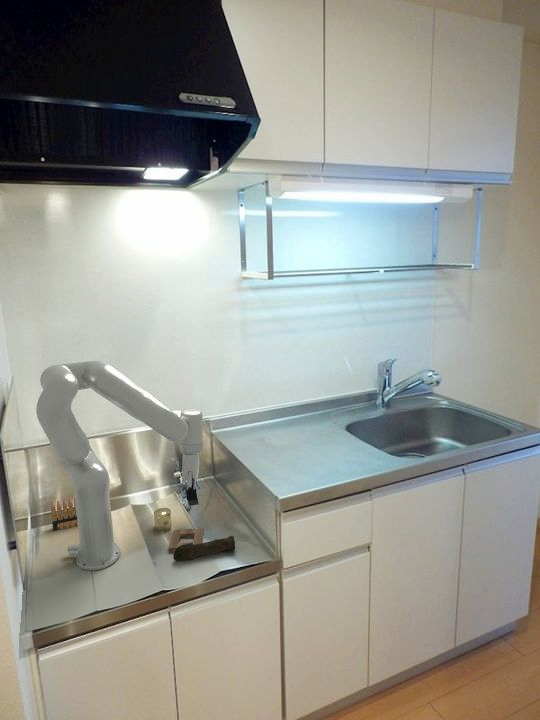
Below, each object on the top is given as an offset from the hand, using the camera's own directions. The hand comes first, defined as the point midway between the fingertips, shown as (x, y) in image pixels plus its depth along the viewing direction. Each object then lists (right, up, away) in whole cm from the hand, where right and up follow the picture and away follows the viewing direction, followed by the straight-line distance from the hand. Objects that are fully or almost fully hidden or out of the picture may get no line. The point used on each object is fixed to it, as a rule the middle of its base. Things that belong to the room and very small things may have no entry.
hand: (192, 496), depth 154 cm
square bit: (+1, -2, 0) cm, 2 cm away
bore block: (0, -13, -8) cm, 15 cm away
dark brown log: (+12, -17, -12) cm, 24 cm away
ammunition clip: (-42, -12, +1) cm, 43 cm away
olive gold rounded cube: (-10, -11, 0) cm, 15 cm away
